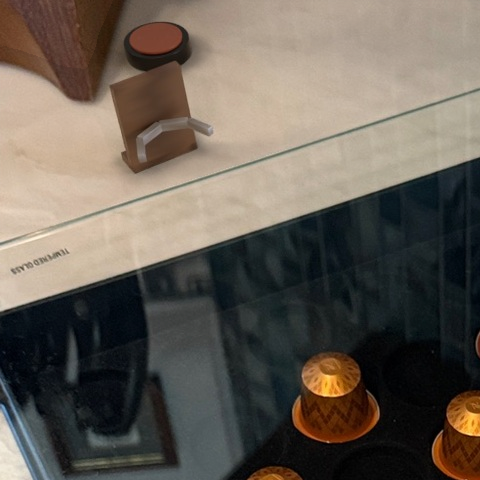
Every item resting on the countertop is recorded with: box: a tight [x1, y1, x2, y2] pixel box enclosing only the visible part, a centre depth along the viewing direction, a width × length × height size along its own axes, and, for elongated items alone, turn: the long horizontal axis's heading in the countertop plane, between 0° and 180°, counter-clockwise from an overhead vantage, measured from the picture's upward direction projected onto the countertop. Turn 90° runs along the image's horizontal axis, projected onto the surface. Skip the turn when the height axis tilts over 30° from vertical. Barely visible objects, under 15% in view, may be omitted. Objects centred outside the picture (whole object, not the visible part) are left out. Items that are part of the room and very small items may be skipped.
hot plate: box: [123, 21, 193, 72], centre depth 173 cm, size 8×8×2 cm
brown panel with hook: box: [108, 61, 214, 174], centre depth 156 cm, size 9×8×11 cm
